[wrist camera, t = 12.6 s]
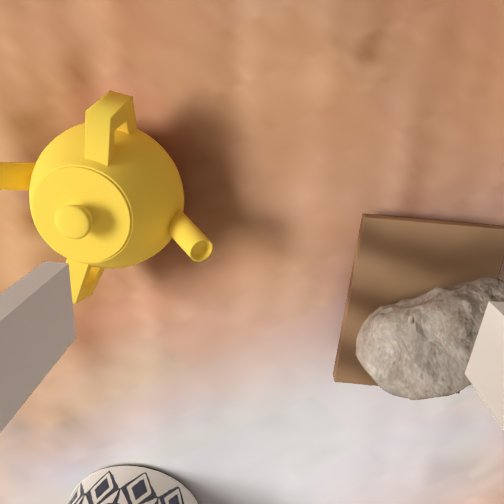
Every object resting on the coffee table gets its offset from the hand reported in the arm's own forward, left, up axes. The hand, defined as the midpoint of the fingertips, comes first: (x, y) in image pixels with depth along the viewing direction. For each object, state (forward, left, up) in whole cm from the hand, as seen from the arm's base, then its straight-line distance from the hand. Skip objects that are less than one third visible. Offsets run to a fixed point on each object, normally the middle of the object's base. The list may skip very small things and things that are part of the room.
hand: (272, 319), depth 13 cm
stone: (+12, +15, -24) cm, 31 cm away
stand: (+12, +15, -27) cm, 33 cm away
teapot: (+3, -14, -27) cm, 30 cm away
